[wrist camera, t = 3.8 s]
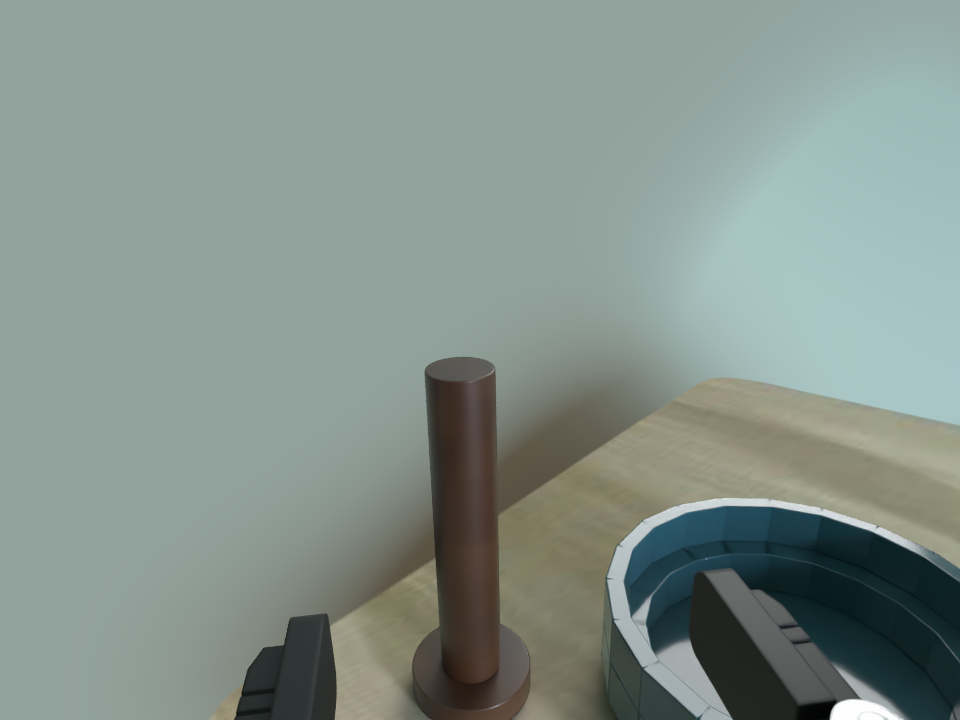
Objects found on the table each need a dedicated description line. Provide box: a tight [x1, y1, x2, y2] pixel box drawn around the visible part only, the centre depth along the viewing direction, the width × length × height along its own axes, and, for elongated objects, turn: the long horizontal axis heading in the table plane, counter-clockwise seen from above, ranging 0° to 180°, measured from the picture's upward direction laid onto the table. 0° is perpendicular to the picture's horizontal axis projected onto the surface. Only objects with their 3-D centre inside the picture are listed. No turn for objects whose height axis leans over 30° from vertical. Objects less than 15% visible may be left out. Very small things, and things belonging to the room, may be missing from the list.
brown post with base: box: [412, 357, 530, 720], centre depth 26 cm, size 5×5×15 cm
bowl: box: [602, 498, 960, 720], centre depth 26 cm, size 16×16×5 cm
